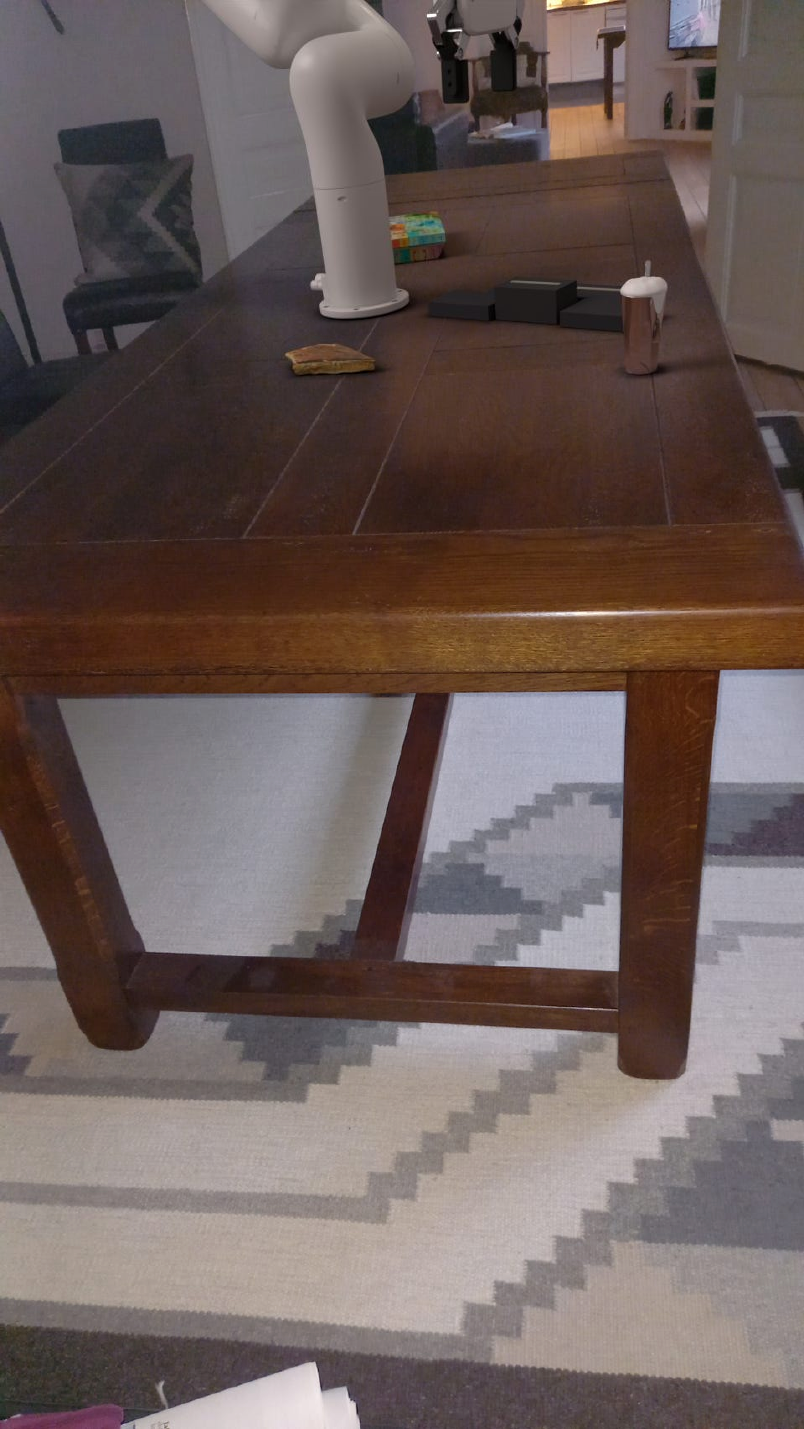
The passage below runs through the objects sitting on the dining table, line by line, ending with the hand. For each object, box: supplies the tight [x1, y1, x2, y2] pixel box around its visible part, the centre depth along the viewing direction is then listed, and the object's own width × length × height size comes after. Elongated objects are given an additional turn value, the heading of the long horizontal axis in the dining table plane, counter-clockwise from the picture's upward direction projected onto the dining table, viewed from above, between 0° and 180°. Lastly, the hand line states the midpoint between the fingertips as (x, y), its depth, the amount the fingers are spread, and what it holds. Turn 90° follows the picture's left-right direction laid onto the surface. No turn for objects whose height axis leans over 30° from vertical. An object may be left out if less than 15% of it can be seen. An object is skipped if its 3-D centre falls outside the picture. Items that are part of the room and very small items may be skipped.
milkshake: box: [620, 260, 668, 376], centre depth 100 cm, size 4×5×10 cm
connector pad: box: [493, 276, 578, 325], centre depth 123 cm, size 9×5×4 cm, turn 52°
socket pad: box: [427, 283, 623, 333], centre depth 125 cm, size 30×12×2 cm, turn 52°
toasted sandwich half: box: [285, 342, 377, 376], centre depth 115 cm, size 11×8×2 cm
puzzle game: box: [389, 211, 447, 265], centre depth 165 cm, size 12×5×20 cm
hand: (480, 97), depth 111 cm, fingers open, 9 cm apart
